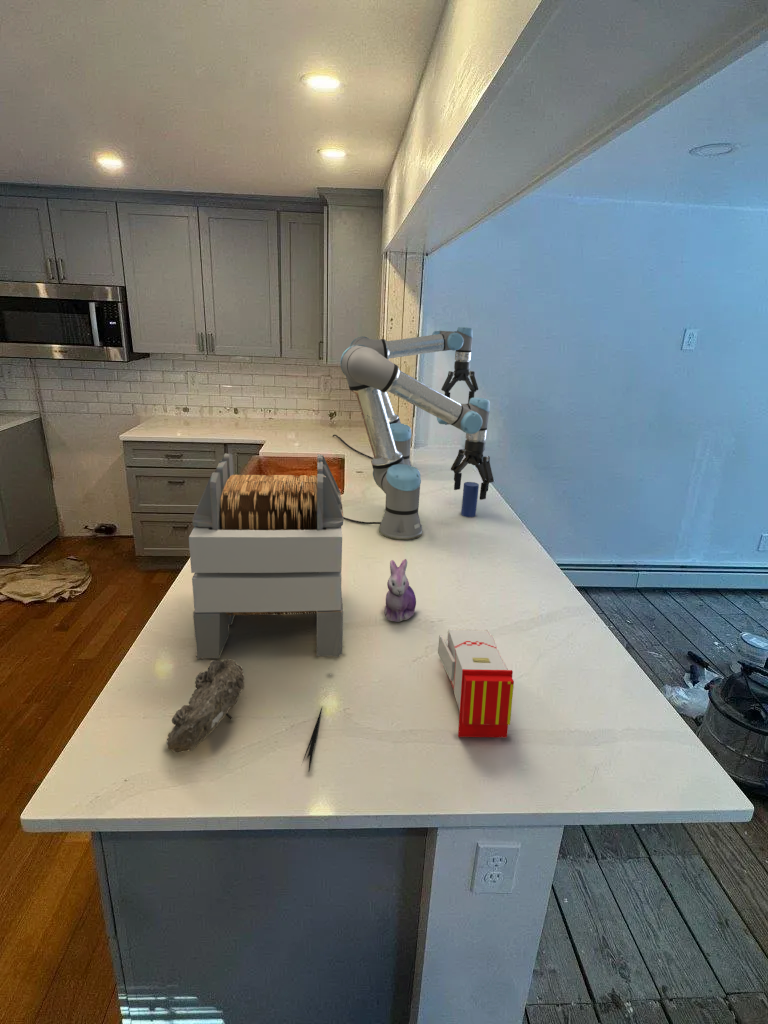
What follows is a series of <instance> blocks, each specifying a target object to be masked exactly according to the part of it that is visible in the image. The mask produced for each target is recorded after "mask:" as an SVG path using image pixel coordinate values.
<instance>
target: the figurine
mask: <svg viewBox="0 0 768 1024" xmlns="http://www.w3.org/2000/svg"><path fill="white" fill-rule="evenodd" d="M407 567H408V559H406V558H404V559H403V560H402V561H401V563H400V565H399V566H398V565H397V563H396V562H395V561H394V560H393V559H391V560H390V561H389V570H390V576H389V578H388V579H387V589H388V591H387V592H386V594H385V595H386V596H385V607H384V615H385V616H386V620H387V621H391V622H395V623H400V622H402V621H406V620H409V619H410V618H411V617H413V616H414V615H415V610H416V606H417V597H416V593H415V591H414V590H413V587H411V586H410V582H409V579H408V577H407V574H406V571H407Z"/></svg>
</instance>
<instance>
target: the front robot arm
mask: <svg viewBox="0 0 768 1024" xmlns="http://www.w3.org/2000/svg"><path fill="white" fill-rule="evenodd" d="M339 365H340V370H341V372H342V374H343V375H344V376H345V378H346V382H347V385H348V388H349V391H350V392H352V393H354V394H355V398H356V400H357V403H358V407H359V411H360V414H361V417H362V420H363V423H364V424H363V425H364V428H365V432H366V435H367V438H368V441H369V444H370V449H371V452H372V455H373V457H372V458H373V459H371V460H370V461H371V463H370V464H371V467H372V477H373V481H374V482H375V484H376V485H377V487H378V488H380V489H381V491H382V492H383V493H384V494H385V504H384V505H385V507H384V508H385V509H384V513H383V515H382V519H381V521H361V520H356V519H352V518H348V517H345V516H343V517H344V520H345V521H348V522H352V523H355V524H361V525H379V526H378V533H379V534H380V535H381V536H382V537H385V538H387V539H389V540H395V541H410V540H415V539H418V538H420V537H421V536H422V535H423V525H422V524H421V518H420V515H419V507H420V506H419V505H420V496H421V495H420V494H421V493H420V492H421V483H422V480H421V472H420V470H419V469H418V468H416V467H414V466H412V465H411V466H410V465H405V463H404V459H403V456H402V453H401V452H399V451H397V450H396V446H395V442H394V439H393V435H392V431H391V428H390V424H389V420H388V417H387V413H386V409H385V406H384V402H383V398H382V395H381V391H382V392H384V393H385V392H387V393H390V394H392V395H394V396H396V397H398V398H400V399H401V400H404V401H405V402H407V403H410V404H411V405H413V406H415V407H417V408H419V409H420V410H423V411H425V412H426V413H428V414H430V415H432V416H434V417H436V421H437V423H438V424H440V425H445V426H447V425H451V426H453V427H455V428H456V429H458V430H460V431H462V432H463V433H465V441H464V448H460V449H458V452H457V456H456V458H455V460H453V463H452V465H451V467H450V471H452V472H453V473H454V475H453V481H454V484H453V490H454V491H457V490H461V485H462V477H463V476H462V475H463V473H462V471H463V470H464V469H465V468H466V466H467V465H472V466H475V468H476V469H477V471H478V474H479V476H480V478H481V481H482V482H481V483H480V490H479V492H480V493H479V500H480V501H482V500H486V499H487V492H488V491H489V485H490V484H492V483H494V482H495V479H494V475H493V471H492V466H491V462H490V461H491V456H489V455H487V456H486V455H484V452H485V450H486V440H487V434H488V433H487V432H488V426H489V425H488V424H489V416H490V411H491V410H490V409H491V408H490V407H491V403H490V402H491V401H490V400H489V399H488V398H484V397H474V398H471V399H470V401H469V403H468V402H467V403H459V402H457V401H456V400H454V399H452V398H451V397H450V398H449V397H447V396H445V394H443V393H442V392H439V391H438V390H436V389H434V388H432V387H431V386H429V385H427V384H425V383H423V382H421V381H419V380H418V379H416V378H414V377H413V376H411V375H409V374H408V373H406V372H404V371H402V370H400V368H399V365H397V364H396V363H394V362H392V361H391V360H389V359H386V358H385V357H384V356H382V355H381V354H380V353H378V352H377V351H376V350H374V349H372V348H368V347H366V346H364V345H354V346H351V347H350V346H349V347H347V348H346V349H345V350H344V351H343V352H342V354H341V357H340V363H339Z"/></svg>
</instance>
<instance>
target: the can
mask: <svg viewBox="0 0 768 1024" xmlns="http://www.w3.org/2000/svg"><path fill="white" fill-rule="evenodd" d="M479 488H480V484H479V483H478V482H475V481H465V482H464V483H463V490H462V498H461V499H462V500H461V510H460V515H461V516H462V517H465V518H474V517H476V516H477V509H478V508H477V507H478V497H479Z"/></svg>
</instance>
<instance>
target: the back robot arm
mask: <svg viewBox="0 0 768 1024" xmlns="http://www.w3.org/2000/svg"><path fill="white" fill-rule="evenodd" d="M473 339H474V329H473V328H472V327H465V326H461V327H460V326H459V327H457V329H456V330H455V331H454V330H453V331H450V330H449V331H448V330H434V331H433V332H432V334H431V335H430V334H429V335H423V336H415V337H407V338H399V339H393V340H386V339H385V338H381V339H380V338H379V339H375V338H374V339H373V338H369V337H367V336H358V337H356V338H354V339H353V340H352V341H351V342H350V345H349V347H351V346H354V345H364V346H366V347H368V348H372V349H374V350H376V351H377V352H378V353H380V354H381V355H382V356H384V357H385V358H386V359H388V360H389V359H394V358H403V357H409V356H416V355H424V354H430V353H431V354H432V353H438V352H446V351H455V353H454V360H455V361H454V365H453V369H454V371H452V370H448V373H447V376H446V378H445V381H444V383H443V384H442V387H441V391H442V392H444V395H445V396H447V397H449V398H450V399H451V392H450V391H451V390H452V389H453V387H454V386H455V385H456V383H458V382H462V381H463V382H465V384H466V385H467V387H468V388H469V391H468V398H467V404H468V403H469V401H470V399H471V398H475V393H476V392H477V391H479V386H478V382H477V379H476V376H475V371H474V370H470V369H471V362H470V361H471V357H472V348H473ZM381 395H382V398H383V402H384V406H385V409H386V413H387V417H388V420H389V424H390V428H391V431H392V435H393V439H394V442H395V446H396V450H397V451H399V452H401V453H402V456H403V459H404V463H405V465H410V466H412V463H411V460H410V459H411V457H410V456H411V444H412V428H411V426H409V425H408V424H405V423H402V422H401V420H400V417H399V415H398V414H396V413H395V411H394V409H393V406H392V403H391V399H390V396H389V394H388V392H385V393H384V392H382V391H381ZM334 437H336V438H337V439H339V440H340V441H341V442H342V443H343V444H344V445H345V446H347V447H348V448H349V449H351V450H352V451H354V452H356V453H358V454H360V455H361V456H363V457H366V458H369V459H370V460H372V459H373V458H374V457H372V456H370V455H367V454H365V453H363V452H361V451H359V450H358V449H356V448H353V446H351V445H349V444H348V443H346V442H345V441H344V440H343V438H341V437H340V436H339V435H337V434H332V438H334Z"/></svg>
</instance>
